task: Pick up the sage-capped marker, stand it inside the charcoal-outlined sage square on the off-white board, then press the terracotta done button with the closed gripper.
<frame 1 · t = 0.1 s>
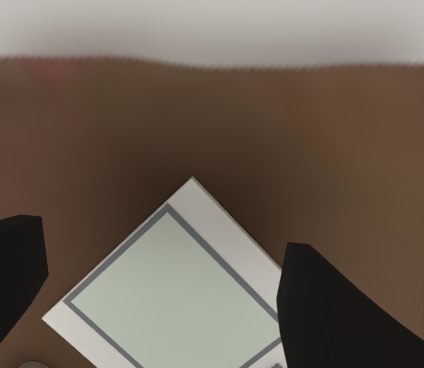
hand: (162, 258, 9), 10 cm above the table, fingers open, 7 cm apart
activity board: (210, 337, 22), on the table
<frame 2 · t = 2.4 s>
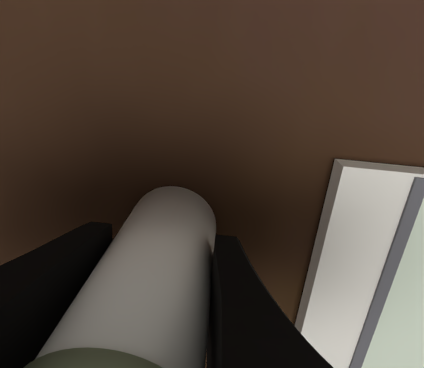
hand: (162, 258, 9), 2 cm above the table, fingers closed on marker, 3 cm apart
marker: (173, 225, 11), on the table, touching gripper
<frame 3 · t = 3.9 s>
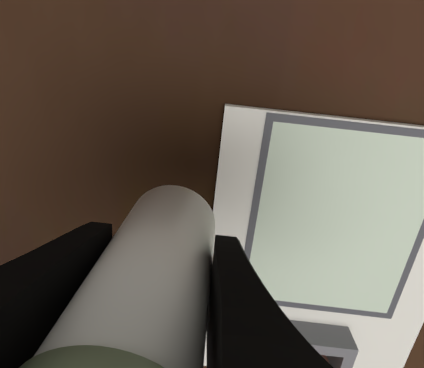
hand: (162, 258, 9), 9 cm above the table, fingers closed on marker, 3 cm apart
marker: (173, 224, 11), point 7 cm above the table, touching gripper
activity board: (320, 263, 20), on the table
when the fingers open (4 cm above the table, at t = 5.7 s): marker stays where it is, resting on activity board.
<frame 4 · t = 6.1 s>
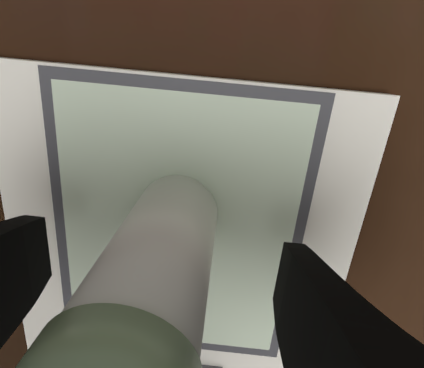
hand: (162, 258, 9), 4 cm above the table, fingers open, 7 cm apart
marker: (178, 211, 12), point 1 cm above the table, touching activity board
activity board: (177, 282, 14), on the table
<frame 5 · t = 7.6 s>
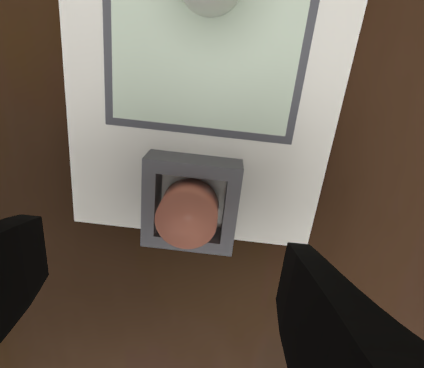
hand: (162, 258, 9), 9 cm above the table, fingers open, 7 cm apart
done button: (188, 212, 16), point 3 cm above the table, slide at 0.0 cm
activity board: (204, 75, 16), on the table
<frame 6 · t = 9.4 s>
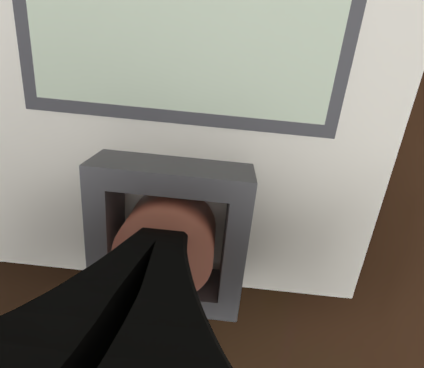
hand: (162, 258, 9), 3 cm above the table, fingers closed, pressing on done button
done button: (168, 241, 10), point 2 cm above the table, slide at 0.8 cm, touching gripper
activity board: (187, 24, 10), on the table
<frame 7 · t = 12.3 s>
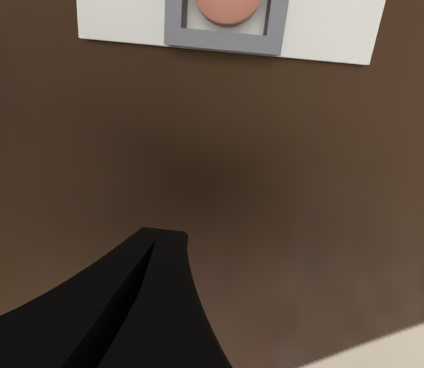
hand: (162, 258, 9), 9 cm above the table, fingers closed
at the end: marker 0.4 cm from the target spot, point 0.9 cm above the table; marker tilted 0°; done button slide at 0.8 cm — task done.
